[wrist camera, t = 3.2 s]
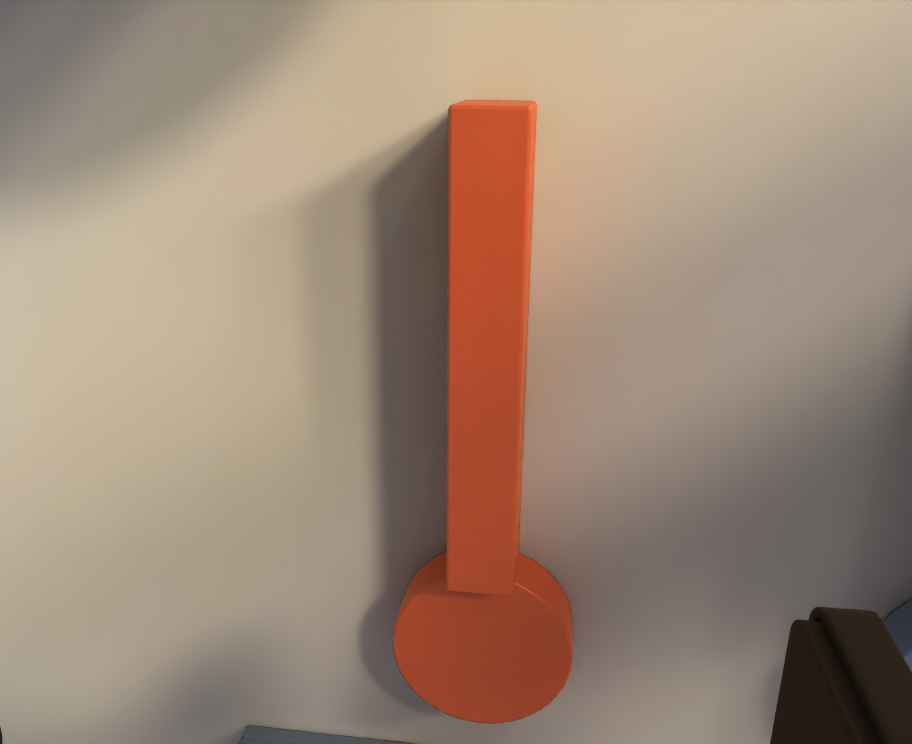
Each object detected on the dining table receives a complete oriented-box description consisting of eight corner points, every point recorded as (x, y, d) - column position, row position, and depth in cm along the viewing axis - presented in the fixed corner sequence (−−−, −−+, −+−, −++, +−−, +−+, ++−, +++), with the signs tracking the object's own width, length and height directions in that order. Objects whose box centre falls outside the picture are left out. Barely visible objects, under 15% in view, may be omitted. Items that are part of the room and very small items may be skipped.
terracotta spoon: (394, 99, 18) (370, 103, 16) (608, 101, 17) (613, 107, 15) (403, 678, 24) (387, 736, 21) (567, 694, 23) (566, 757, 21)
